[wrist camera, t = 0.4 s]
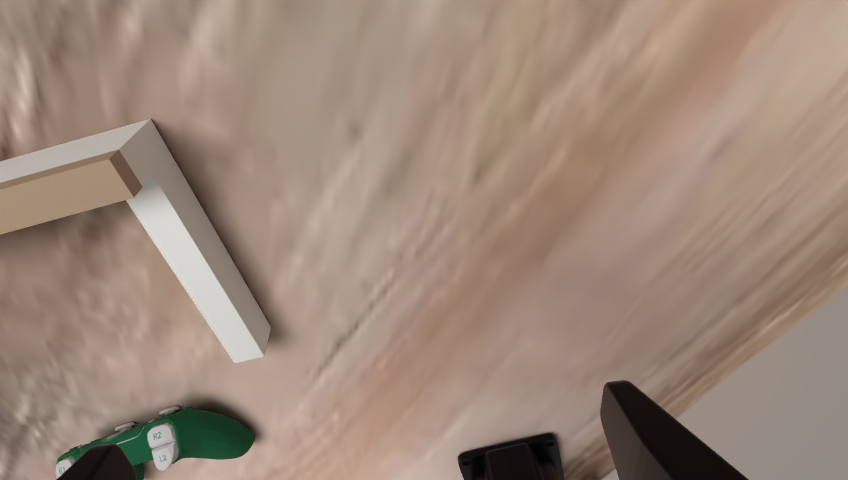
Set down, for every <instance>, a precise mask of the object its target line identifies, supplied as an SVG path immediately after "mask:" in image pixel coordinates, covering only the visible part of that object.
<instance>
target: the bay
mask: <svg viewBox="0 0 848 480" xmlns="http://www.w3.org/2000/svg"><path fill="white" fill-rule="evenodd" d="M124 200H126V201H127V203H128V204H129V206H130V207H131V209H132V210H133V212H134V213H135V215H136V216H137V218H138V219H139V221H140V222H141V224H142V225H143V227H144V228H145V230H146V231H147V233H148V234H149V236H150V237H151V239H152V240H153V242H154V243H155V245H156V246H157V248H158V249H159V251H160V252H161V254H162V255H163V257H164V258H165V260H166V261H167V263H168V264H169V266H170V267H171V269H172V270H173V272H174V273H175V275H176V276H177V278H178V279H179V281H180V282H181V284H182V285H183V287H184V288H185V290H186V291H187V293H188V294H189V296H190V297H191V299H192V300H193V302H194V303H195V305H196V306H197V308H198V309H199V311H200V312H201V314H202V315H203V317H204V318H205V320H206V321H207V323H208V324H209V326H210V327H211V329H212V330H213V332H214V333H215V335H216V336H217V338H218V339H219V341H220V342H221V344H222V345H223V347H224V348H225V350H226V351H227V353H228V354H229V356H230V357H231V359H232V360H233V362H234V363H239V362H243V361H247V360H251V359H255V358H259V357H263V356H264V355H265V351H266V347H267V343H268V338H269V334H270V330H271V326H270V325H269V323H268V321H267V319H266V318H265V316H264V314H263V312H262V311H261V309H260V307H259V306H258V304H257V302H256V300H255V299H254V297H253V295H252V293H251V292H250V290H249V288H248V286H247V285H246V283H245V281H244V280H243V278H242V276H241V274H240V273H239V271H238V269H237V267H236V266H235V264H234V262H233V260H232V259H231V257H230V255H229V254H228V252H227V250H226V248H225V247H224V245H223V243H222V241H221V240H220V238H219V236H218V234H217V233H216V231H215V229H214V228H213V226H212V224H211V222H210V221H209V219H208V217H207V215H206V214H205V212H204V210H203V209H202V207H201V205H200V203H199V202H198V200H197V198H196V196H195V195H194V193H193V191H192V189H191V188H190V186H189V184H188V183H187V181H186V179H185V177H184V176H183V174H182V172H181V170H180V169H179V167H178V165H177V163H176V162H175V160H174V158H173V157H172V155H171V153H170V151H169V150H168V148H167V146H166V144H165V143H164V141H163V139H162V137H161V136H160V134H159V132H158V131H157V129H156V127H155V125H154V124H153V122H152V120H151V119H148V120H144V121H141V122H137V123H134V124H130V125H127V126H123V127H120V128H116V129H113V130H109V131H105V132H102V133H98V134H95V135H91V136H88V137H84V138H81V139H77V140H74V141H70V142H67V143H63V144H60V145H56V146H53V147H49V148H46V149H42V150H39V151H35V152H32V153H28V154H25V155H21V156H18V157H14V158H11V159H7V160H4V161H0V234H4V233H8V232H11V231H15V230H19V229H22V228H26V227H30V226H33V225H37V224H40V223H44V222H48V221H51V220H55V219H59V218H62V217H66V216H70V215H73V214H77V213H80V212H84V211H88V210H91V209H95V208H99V207H102V206H106V205H110V204H113V203H117V202H121V201H124Z"/></svg>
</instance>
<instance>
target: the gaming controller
mask: <svg viewBox="0 0 848 480" xmlns="http://www.w3.org/2000/svg"><path fill="white" fill-rule="evenodd" d="M179 409H180V408H179V407H178V406H174V407H171V408H167V409H165V410H162V411H160V413H159V415H163V414H164V415H163V416H162V418H159V419H156V420H155V419H153V420H151V421H149V422H147V423H144V424H141V425H139V426H136V427H133V428H132V426H134V425H136V424H135V423H134V422H130V423H126V424H123V425H120V426H117V427H116V429H115V431H119V430H120V432H119V433H116V434H114V435H111V436H108V437H105V438H101V439H98V440H95V441H92V442H91V443H89V444H84V445H80V446H77V447H74V448H72V449H70V451H69V452H67V453H65V454H63V455H62V456H61V457H59V458H58V460H57V465H56V470H55V472H56V477H57V479H58V478H59V477H60V476H61V475H62V474H63V473H64V472H65V471H66V470H67V469H68V468H69V467H70V466H71V465H72V464H74V463H75V462H76V461H77V460H78V459H79V458H80V457H81V456H82V455H83V454H84V453H85V452H86V451H88V450H89V449H90V448H92V447H94V446H97V445H105V444H117V445H119V446H120V447H121V448H122V450H123V451H124V453H125V454H126V456H127V458H128V459H129V461H130V462H131V464H132V465H133V467H134V468H135V471H136V480H143V479H144V466H143V464H142V463H143V462H146V461H149V460H154V462H155V465H156V467H157V469H159V470H165V469H167V468H169V467H170V465H171V464H174V463H175V462H177V461H178V460H180V459H182V458H207V459H233V458H237V457H240V456H243V455H244V454H245V453H246V452H248V450H249V449H250V448H251V446H252V444H253V442H254V440H255V434H254V433H253V432H252V431H250V430H249V429H248V428H247V427H245V426H244V425H242V424H241V423H239V422H238V421H236V420H234V419H232V418H229V417H227V416H224V415H221V414H218V413H215V412H210V411H204V410H191V407H188V408H185V409H182V410H180V411H179V412H177V413H176V412H175V411H176V410H179Z"/></svg>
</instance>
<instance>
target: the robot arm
mask: <svg viewBox="0 0 848 480" xmlns="http://www.w3.org/2000/svg"><path fill="white" fill-rule="evenodd" d="M600 416H601V422H602V425H603V429H604V432H605V435H606V438H607V441H608V445H609V448H610V451H611V454H612V457H613V460H614V464H615V467H616V470H617V473H618V476H619V480H748V479H747V478H746V477H745V476H744V475H742V474H741V473H740V472H739V471H737V470H736V469H735V468H734V467H733V466H731V465H730V464H729V463H728V462H727V461H725V460H724V459H723V458H722V457H720V456H719V455H718V454H717V453H716V452H715V451H713V450H712V449H711V448H710V447H708V446H707V445H706V444H705V443H704V442H702V441H701V440H700V439H698V437H696V436H695V435H694V434H692V433H691V432H690V431H689V430H688V429H687V428H685V427H684V426H683V425H682V424H681V423H679V422H678V421H677V420H676V419H674V418H673V417H672V416H671V415H670V414H668V413H667V412H666V411H665V410H664V409H662V408H661V407H660V406H659V405H657V404H656V403H655V402H654V401H653V400H651V399H650V398H649V397H648V396H647V395H645V394H644V393H643V392H642V391H640V390H639V389H638V388H637V387H636V386H634V385H633V384H632V383H631V382H629V381H626V380H621V381H613V382H607V383H606V384H605V385H604V389H603V395H602V402H601V409H600ZM458 464H459V467H460V470H461V473H462V475H463V478H464V480H564V476H563V470H562V464H561V458H560V453H559V447H558V442H557V439H556V437H555V435H553V434H546V435H542V436H538V437H533V438H529V439H525V440H520V441H516V442H511V443H507V444H503V445H498V446H494V447H489V448H485V449H481V450H476V451H472V452H467V453H463V454H461V455H459V456H458ZM56 480H136V471H135V468H134V467H133V465H132V464H131V462H130V461H129V459H128V458H127V456H126V454H125V453H124V451H123V450H122V448H121V447H120V446H119V445H117V444H105V445H97V446H94V447H92V448H90V449H89V450H88V451H86V452H85V453H84V454H83V455H82V456H81V457H80V458H79V459H78V460H77V461H76V462H75V463H74V464H72V465H71V466H70V467H69V468H68V469H67V470H66V471H65V472H64V473H63V474H62V475H61V476H60V477H59V478H58V479H56Z"/></svg>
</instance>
